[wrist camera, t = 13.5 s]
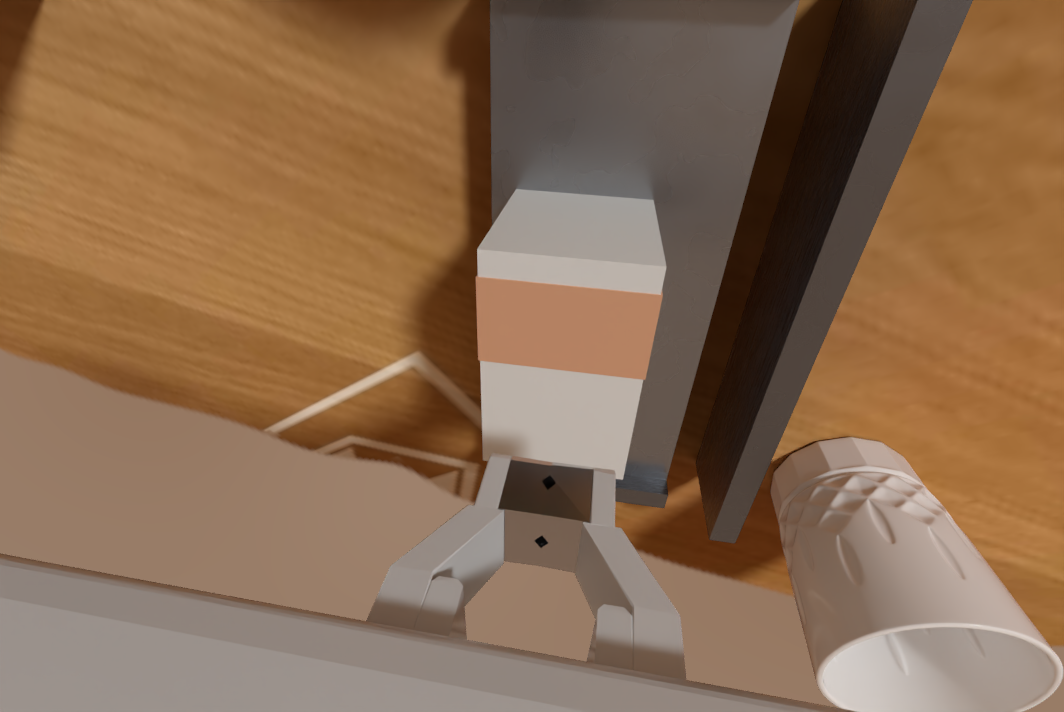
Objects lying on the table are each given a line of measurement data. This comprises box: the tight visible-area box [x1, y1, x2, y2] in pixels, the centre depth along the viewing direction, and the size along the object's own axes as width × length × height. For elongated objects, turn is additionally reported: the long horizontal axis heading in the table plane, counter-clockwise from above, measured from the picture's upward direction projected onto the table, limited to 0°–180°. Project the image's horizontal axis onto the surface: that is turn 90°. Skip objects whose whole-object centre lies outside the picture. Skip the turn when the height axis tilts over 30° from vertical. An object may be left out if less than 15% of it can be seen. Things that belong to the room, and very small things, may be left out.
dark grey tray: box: [490, 0, 973, 543], centre depth 20 cm, size 12×22×5 cm, turn 178°
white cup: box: [770, 437, 1063, 712], centre depth 23 cm, size 8×8×10 cm
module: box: [476, 189, 667, 480], centre depth 18 cm, size 5×8×6 cm, turn 178°
